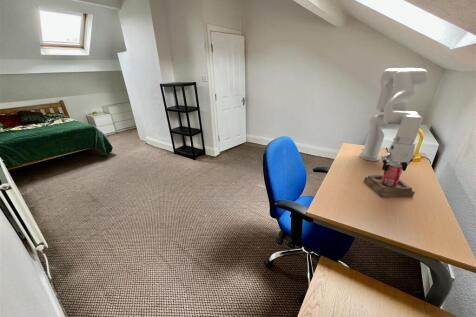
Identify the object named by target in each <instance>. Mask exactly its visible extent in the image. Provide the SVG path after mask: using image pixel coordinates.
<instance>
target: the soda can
mask: <svg viewBox="0 0 476 317" xmlns="http://www.w3.org/2000/svg"><path fill="white" fill-rule="evenodd" d="M388 165H389V168H388V171H387V172H385V171H384V170H383V174H382V175H383V177H382V182H383V183H384V184H385V185H387V186H396V185H397V183H398V180H400V177H401V175H402V172H403V170H402V165H401V163H400V162H399V163H393V162H391V163H390V164H388Z"/></svg>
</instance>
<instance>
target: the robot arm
mask: <svg viewBox="0 0 476 317" xmlns="http://www.w3.org/2000/svg"><path fill="white" fill-rule="evenodd" d="M428 78H429V73H428V70H426V69H424V68H419V67H417V68H415V67H406V68H405V67H404V68H403V67H402V68H399V67H397V68H396V67H395V68H387V69H385V70H383V71H382V72H381V75H380V81H379V82H380V92H379V96H378V99H377V102H376V103H377V104H376V111H377V112H379V113H381V114H379V113H378V114H374V115H372V116H371V118H370V120H369V121H370V122H369V129H368V134H367V137H366V141H365V145H364V147H363V148H362V149H361V151H362V152H361V153H359V157H360V158H361V159H363V160H365V161H369V162H378V161H380V160H381V162H382V163H383V164H382V168H381V170H382V171H383V172H384V171H385V172H387V171H388V168H389V165H388V164H390V163H391V162H393V163H399V164H401V165H402V172H406V170H407V168H408V165H410V163H411V162H413V160H414V159H416V157H417V156H416V155H415V154H414V152H415V146H416V144H415V140H416V138H417V135H418V133H419V131H420V128H421V125H422V123H423V120H424V118H423V116H421V115H420V114H419V112H418V111H413V110H408V106H409V104H408V100H410V99H411V98H413V96H415V87H422V86H424V85H425V83H427V81H428ZM382 113H383V114H382ZM383 130H391V131H392V130H394V131H395V130H397V131H396V136H395V137H394V138H393V141H392V143H391V144H390V146H389V148H388V151H387V152H386V153H385V154H383V155H381V156H379V154H380V151H381V148H382V145H383V142H384V138H385V133H384V131H383Z"/></svg>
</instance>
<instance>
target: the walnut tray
mask: <svg viewBox="0 0 476 317" xmlns="http://www.w3.org/2000/svg"><path fill="white" fill-rule="evenodd" d="M382 177H383V174H382V175H381V174H377V175H368V176H365V177H364V180H363V182H364V183H365V184H366V185H367V186H369V188H370V189H372V190H374V192H375V193H376V194H377V195H379V196H380V197H381V198H382V199H383V198H384V199H389V198H392V199H393V198H411V197H414V195H415V191H414V190H413V188H412V187H411V186H410V185H408V184H406V183H405V182H404V181H402V180H401V179H399V180H398V183H397V185H396V186H387V185H385V184H384V183H383V182H382Z"/></svg>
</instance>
